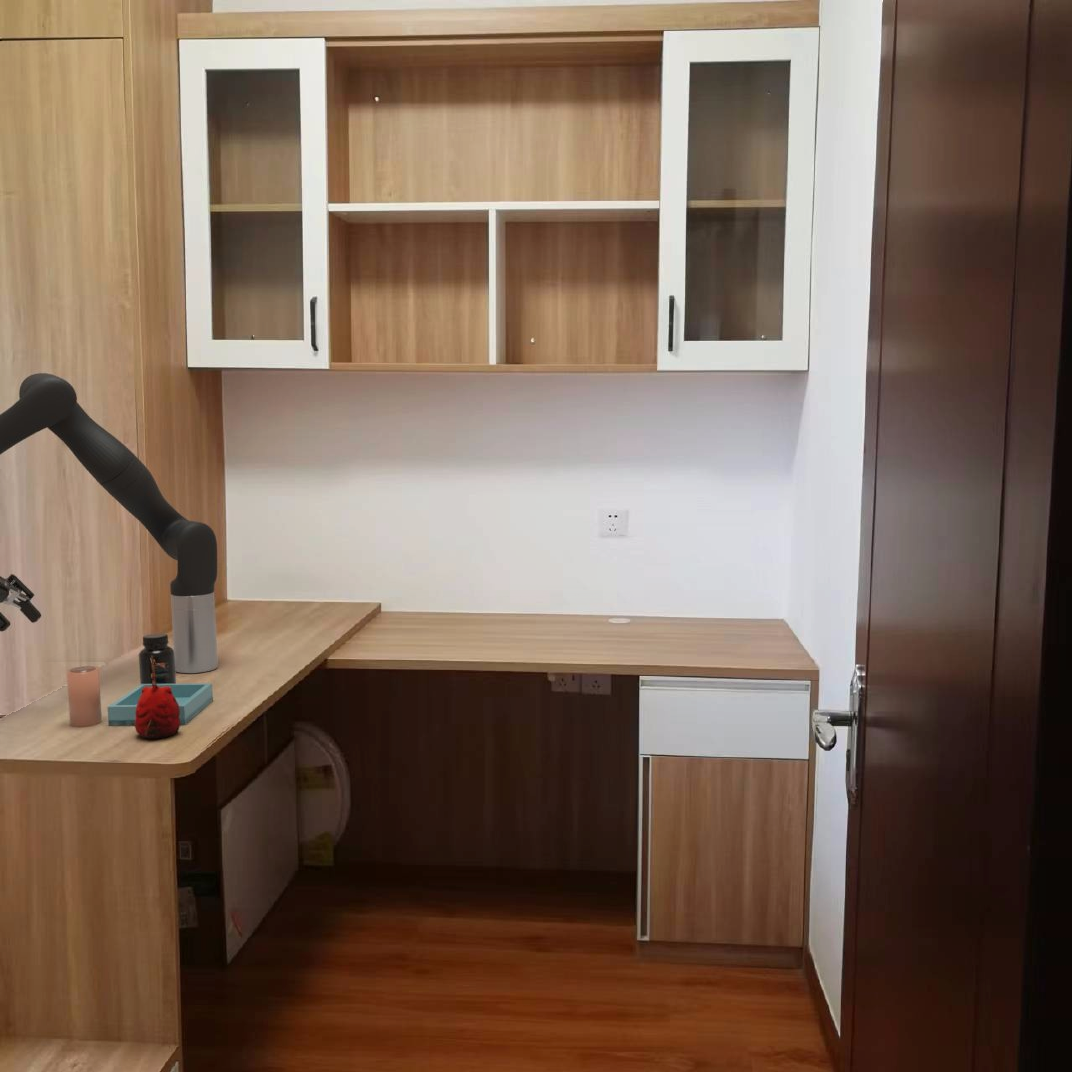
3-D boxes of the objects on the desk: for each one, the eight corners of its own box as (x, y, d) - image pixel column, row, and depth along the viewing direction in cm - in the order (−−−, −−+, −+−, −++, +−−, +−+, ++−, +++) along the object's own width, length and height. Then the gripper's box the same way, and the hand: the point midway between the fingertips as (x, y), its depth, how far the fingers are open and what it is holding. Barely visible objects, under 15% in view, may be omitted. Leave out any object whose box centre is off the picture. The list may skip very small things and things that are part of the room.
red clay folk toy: (184, 728, 182) (180, 647, 181) (176, 740, 176) (171, 656, 174) (140, 730, 181) (135, 648, 180) (130, 742, 174) (125, 658, 173)
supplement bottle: (181, 688, 210) (178, 631, 208) (170, 697, 203) (167, 638, 202) (147, 688, 210) (144, 632, 208) (135, 697, 203) (132, 639, 201)
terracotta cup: (78, 718, 189) (74, 665, 188) (106, 718, 189) (103, 665, 188) (64, 727, 184) (61, 673, 183) (94, 726, 184) (91, 673, 183)
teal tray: (142, 701, 200) (141, 683, 200) (212, 700, 200) (212, 683, 200) (108, 725, 184) (107, 706, 184) (185, 724, 184) (184, 706, 184)
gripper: (-54, 551, 179) (8, 617, 179) (2, 542, 193) (59, 603, 193) (-78, 580, 181) (-17, 645, 180) (-21, 569, 195) (35, 629, 194)
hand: (22, 623), depth 186 cm, fingers open, 8 cm apart
